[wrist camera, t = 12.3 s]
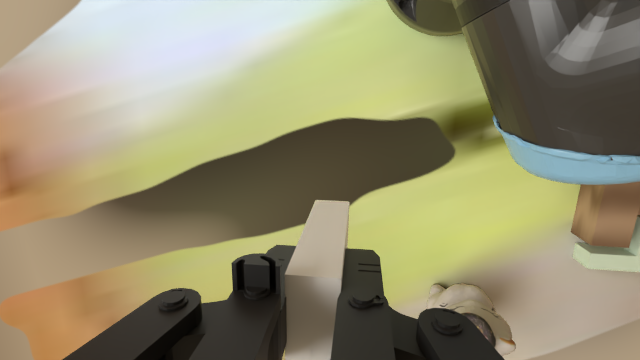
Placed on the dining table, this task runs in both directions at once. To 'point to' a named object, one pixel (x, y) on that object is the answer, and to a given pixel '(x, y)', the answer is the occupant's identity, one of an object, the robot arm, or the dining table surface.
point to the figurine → (475, 312)
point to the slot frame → (611, 254)
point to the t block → (607, 214)
